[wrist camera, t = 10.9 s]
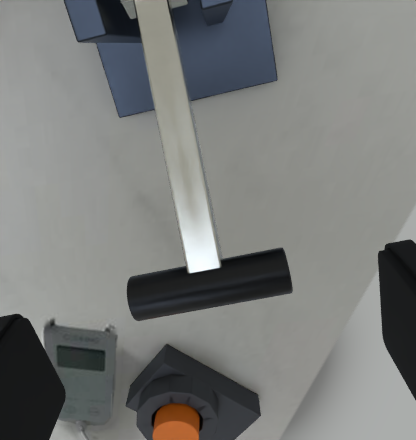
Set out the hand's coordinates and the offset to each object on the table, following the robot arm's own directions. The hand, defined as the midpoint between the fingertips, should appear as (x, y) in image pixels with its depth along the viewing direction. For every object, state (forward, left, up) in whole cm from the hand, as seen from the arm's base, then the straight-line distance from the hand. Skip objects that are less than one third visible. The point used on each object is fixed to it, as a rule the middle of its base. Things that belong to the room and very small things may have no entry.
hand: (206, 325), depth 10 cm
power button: (-10, +19, -14) cm, 26 cm away
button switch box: (-12, +19, -18) cm, 28 cm away
